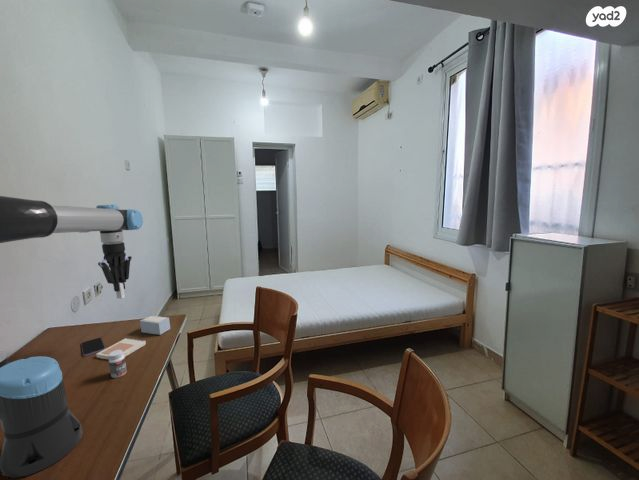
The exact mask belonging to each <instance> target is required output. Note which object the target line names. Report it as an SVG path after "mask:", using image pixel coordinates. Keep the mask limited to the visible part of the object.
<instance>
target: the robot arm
mask: <svg viewBox="0 0 639 480" xmlns="http://www.w3.org/2000/svg"><path fill="white" fill-rule="evenodd" d="M143 219H144V217H143V214H142V213H141V211H139V210H138V209H131V208H128V209H120V207H119V206H118V204H101V205H100V204H99V205H96V206H95V207H84V206H71V205H70V206H66V205H52V204H51V203H49V202H47V201H44V200H36V199H35V200H33V199H28V198H27V199H26V198H19V197H18V198H17V197H12V196H5V195H0V244H3V243H9V242H17V241H22V240H28V239H38V238H40V239H41V238H42V239H43V238H47V237H49V236H51V235H53V234H61V233H62V234H65V233H68V234H69V233H90V232H99V234H100V235H99V236H100V243H102V244H101V248H102V253H103V255H104V256H103V260H102V261H101V262H100V261H99V262H98V263H97V266H99V267H100V268H101V270H102V272H103V275H104V277H105V280H106V282H107V284H109V285H110V284H112V285H113V290H114V292H115V294H116V299H124V298H125V299H126V295H125V289H126V284H125V283H126V282H127V280H129V278H130V266H131V261H132V256H130V255H127V254H126V252H125V251H126V246H125V242H124V234H123V233H124V232H123V231H134V230H136V231H137V230H139V229H141V228H142V226H143V223H144V220H143ZM67 400H68V399H67V395H66V389H65V383H64V378H63V372H62V370H61V368H60V364H59V363H58V361H57V360H56V359H55V358H52V357H49V356H41V355H40V356H30V357H27V358H25V359H24V358H21V359H17V360H14V361H12V362H9V358H8V354H7V353H6V352H4V351H1V350H0V425H1V429H2V431H3V436H4V440H3V443H2V448H1V451H0V473H1V472H2V473H1V475H2V476H4V477H5V476H7V477H6V478H8V477H11V478H10V479H15V478H17V479H18V478H22V477H23V478H24V477H27V476H30V475H33V474H35V473H38V472H41V471H42V470H45V469H46V468H47V469H48V468H49V467H50V466H52V465H54V464H56V463H57V462H59V461H60V460H62V459H63V458H64V457H65V456H67V455H68V454H69V453H70V452H71V451H73V450H74V448H76V446H77V445H78V444H79V443H80V441H81V439H82V437H83V428H82V423H81V422H80V421H79V420H78V418H77V417H76V416H75V415H74V414H73V413H72V411H71V410H70V409H69V406H68V401H67Z"/></svg>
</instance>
